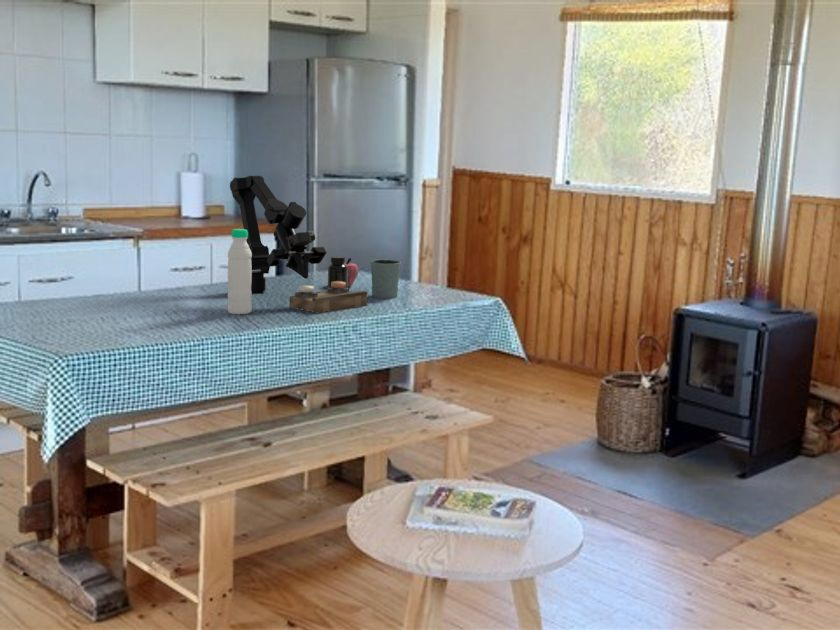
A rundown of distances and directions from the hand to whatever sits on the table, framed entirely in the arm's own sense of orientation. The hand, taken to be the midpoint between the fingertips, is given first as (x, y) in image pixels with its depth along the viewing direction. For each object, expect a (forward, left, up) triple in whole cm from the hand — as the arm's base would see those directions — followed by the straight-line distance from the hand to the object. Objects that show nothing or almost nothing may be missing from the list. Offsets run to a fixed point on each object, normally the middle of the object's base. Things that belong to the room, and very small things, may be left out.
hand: (306, 277), depth 304 cm
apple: (+13, +44, -10) cm, 47 cm away
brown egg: (+10, +10, -9) cm, 16 cm away
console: (+7, +3, -9) cm, 12 cm away
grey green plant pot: (+26, +24, -10) cm, 37 cm away
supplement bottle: (+10, +32, -10) cm, 35 cm away
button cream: (0, 0, -9) cm, 9 cm away
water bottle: (-19, -11, -10) cm, 24 cm away
